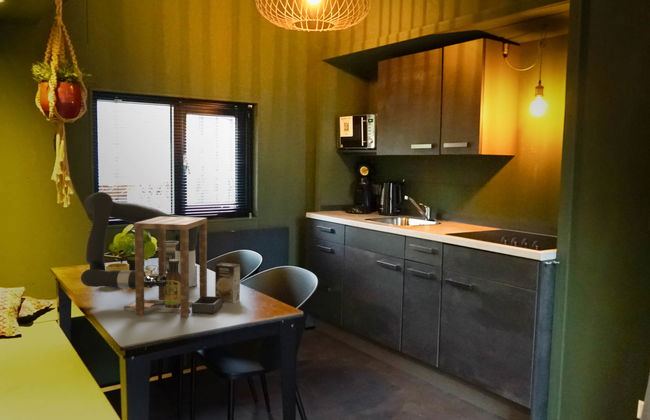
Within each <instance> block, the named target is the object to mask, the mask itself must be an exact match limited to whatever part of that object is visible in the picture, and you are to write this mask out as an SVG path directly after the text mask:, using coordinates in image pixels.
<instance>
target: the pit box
mask: <svg viewBox="0 0 650 420" xmlns="http://www.w3.org/2000/svg"><path fill="white" fill-rule="evenodd" d="M223 305H224V304H223V297H215V295H214V296H210V295H207V296H201V297H200V296H199V297H198V298H197V299H195V300H194V302H193V303H192V306H191V314H196V315H197V314H200V315H215V314H216V313H217V312H218V311H219V310H220V309H222V308H223Z"/></svg>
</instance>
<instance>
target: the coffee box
mask: <svg viewBox="0 0 650 420" xmlns="http://www.w3.org/2000/svg"><path fill="white" fill-rule="evenodd" d="M214 269H215V273H214V275H215V278H214V280H215V282H214V283H215V285H214V290H215V291H214V294H215V295H214V297H223V303H224V304H230V305H234V304H236V303H238V302H239V301H240V300H241V299H240V295H241V294H240V293H241V291H240V289H241V288H240V287H241V264H239V263H228V262H221V263H217V264H216V265H215V267H214Z"/></svg>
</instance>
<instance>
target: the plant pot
mask: <svg viewBox="0 0 650 420" xmlns="http://www.w3.org/2000/svg"><path fill="white" fill-rule="evenodd" d="M105 270H106V271H113V270H115V271H125V270H130V264H129V263H126V262H125V263H124V262H115V263H108V264H105Z"/></svg>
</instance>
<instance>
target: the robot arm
mask: <svg viewBox="0 0 650 420" xmlns="http://www.w3.org/2000/svg"><path fill="white" fill-rule="evenodd" d="M83 206H84V209H85V210H86V212H87V213H89V214H91V215H93V221H92V227H91V230H90V233H89V236H88V239H87V243H86V254H85V260H86V263H87V264H89V269H86V270H85V271H83V272H82V273H81V276H80V281H81V283H82V284H83V285H84V286H86V287H92V288H99V287H107V288H114V289H115V288H116V289H124V290H135V270H130V269H129V270H125V271H115V270H113V271H106V264H105V253H106V252H105V251H106V240H107V232H108V226H109V221H110V218H113V219H118V220H120V221H122V222H123V221H124V222H126V223H130V224H134V223H137V222H141V221H145V220H149V219H153V218H156V217H160V216H161V217H187V216H185V215H176V214H170V213H166V212H164V211H161V210H159V209H157V208H155V207H153V206H150V205H145V204H141V203H135V202H134V203H131V202H121V201H120V202H119V201H116V200H113V198H112V196H111V195H110V194H109V193H108V192H106V191H98V192H97V191H96V192H95V193H92V194H90V195H88V196H87V197H86V198H85V199H84V201H83ZM166 231H169V232H171V233H174V234H176V235H178V241H179V242H178V243H177V244H176V245H175V259H177V260H179V264H178V272H179V274H180V230H170V229H166ZM197 242H198V226H196V227H193V228H190V229H189V288H191V287H194V286H197V285H198V266H197V265H196V245H197ZM160 277H162V279H160ZM159 286H162V287H164V286H166V275H165V274H158V273H151V274H148V275H147V274H146V273H145V271H144V288H148V289H152V288H156V287H159Z"/></svg>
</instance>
